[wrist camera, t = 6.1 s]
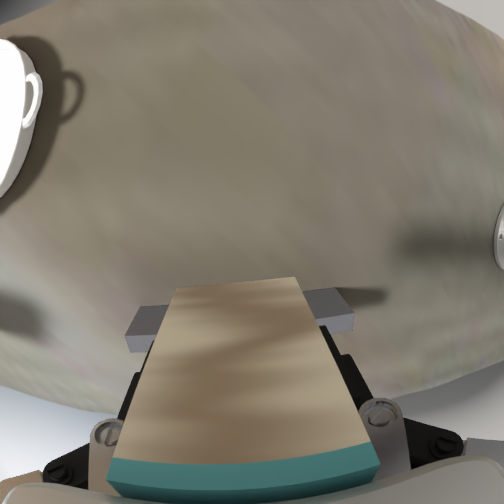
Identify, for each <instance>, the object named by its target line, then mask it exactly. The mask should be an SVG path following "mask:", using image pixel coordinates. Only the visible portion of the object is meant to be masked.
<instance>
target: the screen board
mask: <svg viewBox="0 0 504 504" xmlns="http://www.w3.org/2000/svg"><path fill="white" fill-rule="evenodd" d="M302 293H303V295H304V297H305V299H306V301H307V303H308V305H309V307H310V309H311V311H312V314H313V316H314V318H315V320H316V322H317V324H318V326H322V325H325V326H326V327H327V329H328V331H329V333H330V334H336V333H341V332H347V331H352V330H353V325H354V314H355V313H354V311H353V310H352V309H351V308H350V306H349V305H348V304H347V302H346V301H345V300H344V299H343V297H342V296H341V295H340V293H339V292H338V291H337V290H336V288H327V289H320V290H312V291H305V292H302ZM168 307H169V305H164V306H149V307H140V308H139V310H138V312H137V314H136V316H135V317H134V319H133V321H132V323H131V325H130V327H129V329H128V330H127V332H126V334H125V338H126V341H127V344H128V347H129V350H130V352H148V351H149V348H150V346H151V343H152V341H153V340H155V338H156V336H157V333H158V331H159V329H160V326H161V324H162V321H163V319H164V316H165V314H166V312H167V309H168Z"/></svg>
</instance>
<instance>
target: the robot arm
mask: <svg viewBox="0 0 504 504" xmlns="http://www.w3.org/2000/svg"><path fill="white" fill-rule="evenodd" d="M494 255H495V259H496V262H497V264H498V266H499V267H500V268H501V269H503V270H504V205H503V207H502V209H501V211H500V214H499V217H498V220H497V223H496V228H495V234H494ZM319 328H320V330H321V332H322V335H323V337H324V339H325V341H326V343H327V345H328V347H329V349H330V352H331V354H332V356H333V358H334V360H335V362H336V365H337V367H338V369H339V371H340V373H341V375H342V378H343V380H344V382H345V384H346V386H347V389H348V391H349V393H350V395H351V397H352V400H353V402H354V404H355V406H356V409H357V411H358V413H359V415H360V418H361V420H362V422H363V424H364V427H365V429H366V431H367V434H368V436H369V438H370V440H371V443H372V445H373V447H374V450H375V452H376V454H377V457H378V459H379V461H380V464H381V465H380V467H379V469H378V471H377V473H376V475H375V476H374V478H373V480H372V482H371V483H369V484H365V485H362V486H358V487H354V488H350V489H346V490H342V491H338V492H334V493H329V494H324V495H319V496H314V497H308V498H302V499H296V500H289V501H281V502H272V503H262V504H504V441H497V440H485V439H475V438H467V440H462V439H461V437H460V436H459V435H457V434H456V433H455V432H452V431H449V430H446V429H442V428H438V427H434V426H430V425H427V424H424V423H420V422H416V421H413V420H410V419H407V418H403V414H402V410H401V408H400V407H399V405H398V404H397V403H395V402H394V401H392V400H390V399H386V398H373V396H372V394H371V392H370V390H369V388H368V386H367V385H366V383H365V381H364V379H363V377H362V375H361V373H360V372H359V370H358V368H357V366H356V364H355V362H354V360H353V359H352V357H351V356H350V355H349V354H345V355H341V354H340V353H339V351H338V349H337V347H336V345H335V343H334V341H333V339H332V337H331V335H330V333H329V331H328V329H327V327H326V326H325V325H322V326H319ZM154 341H155V340H153V341H152V343H151V346H150V348H149V351H148V353H147V356H146V358H145V361H144V363H143V366H142V368H141V371H140V372H136V373H135V374H134V376H133V379H132V381H131V384H130V386H129V389H128V391H127V394H126V396H125V399H124V402H123V404H122V407H121V409H120V412H119V415H118V418H117V419H106V420H103V421H101V422H99V423H98V424H96V425H95V426H94V428H93V429H92V431H91V434H90V443H88V444H86V445H84V446H82V447H80V448H78V449H76V450H74V451H72V452H70V453H67V454H65V455H63V456H61V457H59V458H57V459H55V460H53V461H51V462H49V463H48V464H47V465H46V467H45V468H44V470H43V472H41V471H39V470H37V471H34V472H31V473H27V474H24V475H20V476H16V477H13V478H9V479H5V480H3V481H1V482H0V504H170V503H160V502H151V501H144V500H137V499H130V498H125V497H122V496H121V495H120V494H119V493H118V492H117V491H116V490H115V489H114V488H113V487H112V486H111V485H110V484H109V483H108V481H107V480H106V477H107V474H108V470H109V467H110V464H111V461H112V458H113V454H114V451H115V448H116V445H117V442H118V439H119V436H120V433H121V430H122V427H123V424H124V421H125V418H126V416H127V413H128V410H129V407H130V404H131V402H132V399H133V396H134V393H135V390H136V388H137V385H138V382H139V380H140V377H141V374H142V372H143V369H144V366H145V364H146V361H147V359H148V356H149V354H150V351H151V348H152V346H153V343H154Z"/></svg>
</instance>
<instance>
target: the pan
mask: <svg viewBox="0 0 504 504" xmlns="http://www.w3.org/2000/svg"><path fill="white" fill-rule="evenodd" d="M42 93H43V91H42V80H41V78H40V75H39V74H37V73H36V71H35V68H34V66H33V63H32V60H31V59H30V58H29V56H28V55H27V54H26V53H25V52H24V51H22V50H20V49H19V48H17V46H16V45H15V44H13V43H11V42H10V41H8V40H3V39H0V198H1V197H2V196H3V195H4V193H5V192H6V191H7V190H8V189H9V187H10V186H11V185H12V183H13V181H14V180H15V178H16V176H17V175H18V173H19V171H20V169H21V167H22V164H23V162H24V160H25V158H26V155H27V152H28V149H29V146H30V143H31V139H32V135H33V130H34V126H35V122H36V115H37V112H38V110H39V107H40V104H41V99H42Z"/></svg>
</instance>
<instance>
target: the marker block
mask: <svg viewBox="0 0 504 504" xmlns="http://www.w3.org/2000/svg"><path fill="white" fill-rule="evenodd" d="M380 465H381V464H380V461H379V459H378V457H377V454H376V452H375V450H374V447H373V445H372V443H371V440H370V438H369V436H368V434H367V431H366V429H365V427H364V424H363V422H362V420H361V418H360V415H359V413H358V411H357V409H356V406H355V404H354V402H353V400H352V397H351V395H350V393H349V391H348V389H347V386H346V384H345V382H344V380H343V378H342V375H341V373H340V371H339V369H338V367H337V365H336V362H335V360H334V358H333V356H332V354H331V352H330V349H329V347H328V345H327V343H326V341H325V339H324V337H323V335H322V332H321V330H320V328H319V326H318V324H317V322H316V320H315V318H314V316H313V314H312V311H311V309H310V307H309V305H308V303H307V301H306V299H305V297H304V295H303V293H302V291H301V289H300V287H299V285H298V283H297V281H296V279H295V277H288V278H278V279H269V280H259V281H249V282H238V283H227V284H216V285H205V286H193V287H181V288H176V290H175V293H174V295H173V297H172V300H171V302H170V304H169V307H168V309H167V312H166V314H165V316H164V319H163V321H162V324H161V326H160V329H159V331H158V333H157V336H156V338H155V341H154V343H153V346H152V348H151V351H150V354H149V356H148V359H147V361H146V364H145V366H144V369H143V372H142V374H141V377H140V380H139V382H138V385H137V388H136V390H135V393H134V396H133V399H132V402H131V404H130V407H129V410H128V413H127V416H126V418H125V421H124V424H123V427H122V430H121V433H120V436H119V439H118V442H117V445H116V448H115V451H114V454H113V458H112V461H111V464H110V467H109V470H108V474H107V477H106V480H107V481H108V483H109V484H110V485H111V486H112V487H113V488H114V489H115V490H116V491H117V492H118V493H119V494H120V495H121V496H122V497H125V498H130V499H137V500H144V501H151V502H160V503H170V504H262V503H272V502H281V501H289V500H296V499H302V498H308V497H314V496H319V495H324V494H329V493H334V492H338V491H342V490H346V489H350V488H354V487H358V486H362V485H365V484H369V483H371V482H372V480H373V478H374V476H375V475H376V473H377V471H378V469H379V467H380Z"/></svg>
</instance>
